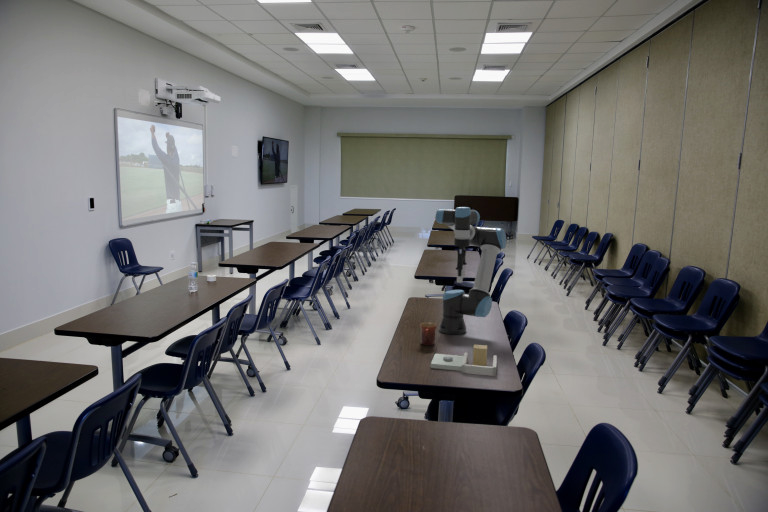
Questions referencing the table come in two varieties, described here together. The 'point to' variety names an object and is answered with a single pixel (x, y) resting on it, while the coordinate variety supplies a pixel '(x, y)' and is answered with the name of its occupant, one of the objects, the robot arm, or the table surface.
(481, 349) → the chute block
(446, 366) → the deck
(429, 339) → the mug
